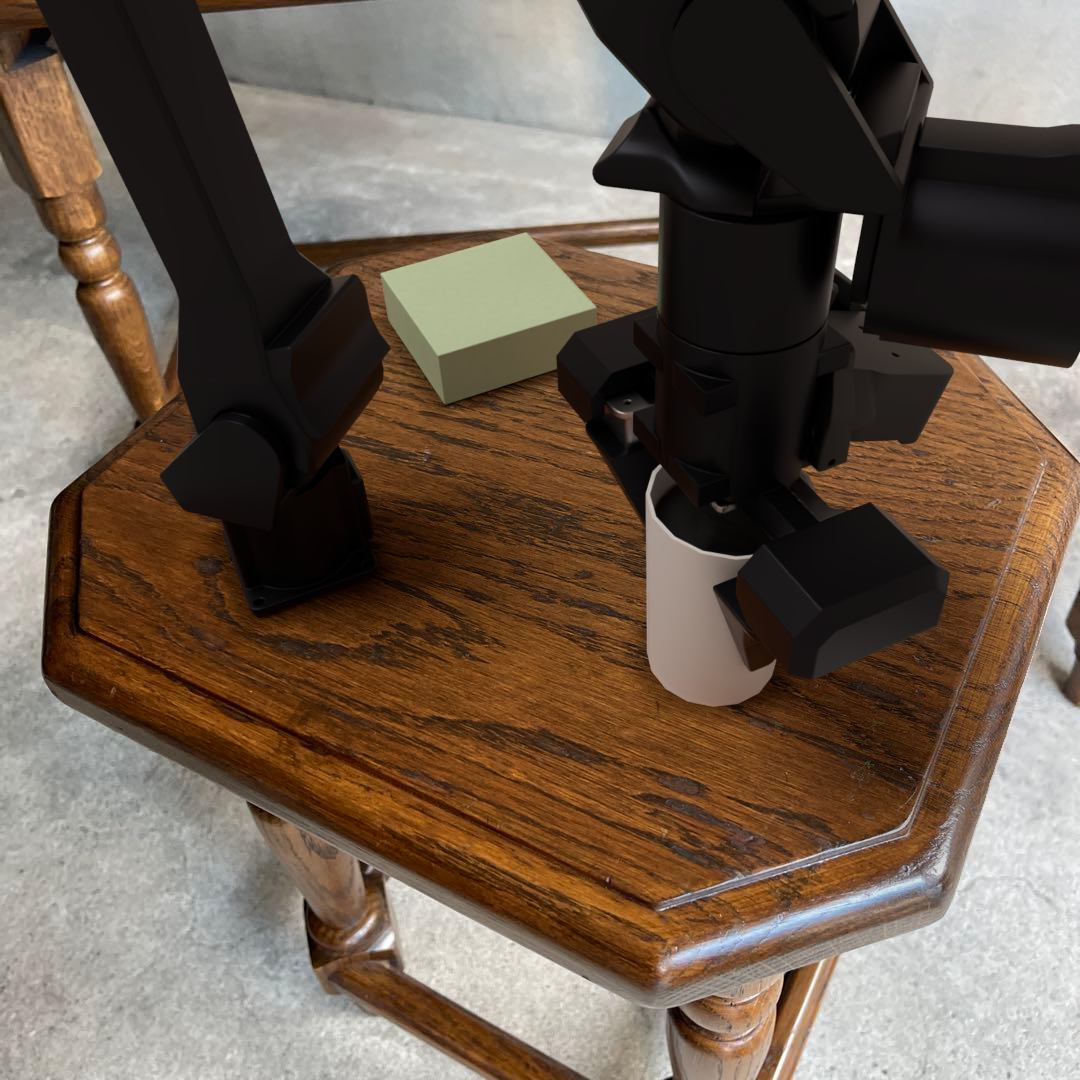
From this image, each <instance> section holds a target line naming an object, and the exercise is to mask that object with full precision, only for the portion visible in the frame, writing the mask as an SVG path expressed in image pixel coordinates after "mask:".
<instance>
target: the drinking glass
mask: <svg viewBox="0 0 1080 1080" xmlns="http://www.w3.org/2000/svg"><path fill="white" fill-rule="evenodd" d="M800 477H801V478H802V479H803V480H804V481H805V482H806V483H807V484H808V485H809V486H810V488H811V489H812V490H813V491H814V492H815V493H816V494H817V495H818V493H817V491H816V488H815V486H814V484H813V481H812V479H811V477H810V475H809V474H808V473H807V472H806V471H804V469H801V472H800ZM767 542H770V540H769V539H768V538H767V537H766V536H765V535H764V534H763V533H762V532H761V530H760V529H759V528H758V527H757V526H756V525H755V524H754V523H753V521H752V520H751V519H750V518H749V517H748V516H747V515H746V514H745V513H744V511H743V510H742V509H741V508H740V507H738V508H737V509H735V510H732V511H729V512H727V513H719V512H717V511H716V510H715V509H714V508H713V507H712V506H711V505H710V504H707V505H705V506H702V507H700V508H697V507H696V506H695V505H694V504H693V502H692V501H691V500H690V499H689V498H688V497H687V495H686V494H685V493H684V492H683V491H682V490H681V488H680V487H679V486H678V485H677V484H676V483H675V481H674V480H673V479H672V478H671V477H670V476H669V474H668V473H667V472H666V471H665V470H664V469H663V467H662V466H661V465H659V466H658V467H657V468H656V469H655V470H654V471H653V472H652V475H651V478H650V481H649V485H648V488H647V491H646V530H645V564H646V565H645V567H646V570H645V571H646V572H645V573H646V575H645V576H646V577H645V579H646V580H645V581H646V592H645V593H646V654H647V658H648V663H649V666H650V671H651V673H652V674H653V675H654V676H655V677H656V679H657V680H658V681H659V683H660V684H661V685H662V686H663V688H664V689H665V690H666V691H668V692H670V693H671V694H673V695H675V696H677V697H678V698H680V699H682V700H684V701H685V702H688V703H692V704H697V705H702V706H706V707H707V706H708V707H711V708H713V707H722V706H732V705H739V704H740V703H743V702H744V701H746V700H748V699H750V698H752V697H754V696H756V695H758V694H760V692H761V691H762V690H763V689H764V688H765V686H766V685H767V683H768V682H769V681H770V679H771V678H772V677H773V674H774V671H775V668H776V667H775V666H776V663H777V660H776V659H775V660H774V661H773V662H772V663H771V664H769V665H768V666H765V667H763V668H761V669H758V670H756V671H753V672H750V671H749V670H748V669H747V667H746V666H745V664H744V662H743V660H742V658H741V656H740V654H739V651H738V649H737V647H736V645H735V642H734V640H733V637H732V635H731V632H730V630H729V627H728V625H727V622H726V620H725V618H724V615H723V613H722V611H721V608H720V606H719V604H718V601H717V599H716V596H715V594H714V591H713V586H714V585H717V584H719V583H722V582H724V581H727V580H729V579H732V578H734V577H737V574H738V571H739V570H740V569H741V568H742V567H743V566H744V564H745V563H746V562H747V561H748V560H749V559H750V558H751V557H752V556H753V554H754V553H755V552H756V551H757V550H758V549H759V548H760V547H761V546H762V545H763V544H765V543H767Z"/></svg>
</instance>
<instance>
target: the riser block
mask: <svg viewBox="0 0 1080 1080" xmlns="http://www.w3.org/2000/svg"><path fill="white" fill-rule="evenodd" d="M380 280H381V285H382V292H383V298H384V303H385V308H386V315H387V320H388V322H389V323H390V325H391V326H392V328H393V330H394V332H396V334H397V335H398V337H399V339H400V340H401V341H402V343H403V344H404V346H405V347H406V349H407V351H408V352H409V353H410V355H411V357H412V359H414V361H415V362H416V363H417V365H418V367H419V369H420V370H421V371H422V373H423V374H424V376H425V377H426V379H427V380H428V382H429V383H430V385H431V387H432V388H433V389H434V390H435V391H434V392H436V393H437V395H438V397H439V398H440V400H441V401H442V402H443V403H442V404H444V405H448V404H452V403H455V402H458V401H461V400H464V399H467V398H471V397H474V396H478V395H480V394H484V393H486V392H489V391H492V390H496V389H499V388H502V387H505V386H508V385H511V384H514V383H517V382H521V381H524V380H527V379H530V378H534V377H536V376H540V375H542V374H546V373H549V372H553V371H555V370H557V362H556V356H557V354H558V353H559V352H560V350H561V349H562V348H563V346H564V345H565V344H566V342H567V341H568V340H569V339H570V337H571V336H572V335H573V333H574V332H576V331H579V330H582V329H585V328H588V327H591V326H595V325H598V308H597V306H596V305H595V304H594V302H593V301H591V300H590V298H588V296H587V295H586V294H585V293H584V292H583V291H582V290H581V289H580V288H579V286H577V284H576V283H575V282H574V281H573V280H572V279H571V278H570V277H569V276H568V275H567V274H566V272H565V271H563V269H562V268H561V267H560V265H558V264H557V263H556V262H555V261H554V260H553V259H552V258H551V256H549V254H547V252H546V251H545V250H544V249H543V248H542V247H541V245H539V244H538V242H536V241H535V239H533V238H532V236H531V235H530V234H529V233H528V232H522V233H518V234H515V235H511V236H507V237H503V238H501V239H497V240H493V241H490V242H486V243H483V244H478V245H476V246H471V247H469V248H465V249H462V250H458V251H454V252H451V253H447V254H443V255H440V256H437V257H433V258H429V259H425V260H422V261H418V262H414V263H411V264H407V265H404V266H400V267H397V268H393V269H390V270H386V271H382V272H380Z"/></svg>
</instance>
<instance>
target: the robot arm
mask: <svg viewBox="0 0 1080 1080" xmlns="http://www.w3.org/2000/svg"><path fill="white" fill-rule="evenodd" d="M34 1H35V3H36V5H37V7H38V9H39V12H40V13H41V15H42V17H43V20H44V21H45V24H46V25H47V27H48V29H49V31H50V34H51V35H52V38H53V40H54V42H55V44H56V46H57V47H58V50H59V52H60V54H61V57H62V58H63V61H64V63H65V64H66V66H67V68H68V71H69V73H70V75H71V77H72V79H73V81H74V83H75V85H76V87H77V89H78V91H79V93H80V95H81V98H82V99H83V102H84V103H85V105H86V107H87V110H88V112H89V114H90V116H91V118H92V120H93V122H94V124H95V126H96V129H97V131H98V132H99V135H100V137H101V138H102V141H103V143H104V145H105V147H106V149H107V151H108V153H109V155H110V157H111V159H112V161H113V163H114V165H115V167H116V169H117V171H118V173H119V175H120V177H121V180H122V183H123V184H124V186H125V188H126V190H127V192H128V194H129V196H130V199H131V200H132V203H133V204H134V206H135V208H136V211H137V212H138V215H139V216H140V219H141V221H142V223H143V225H144V227H145V229H146V231H147V233H148V235H149V237H150V239H151V241H152V243H153V246H154V247H155V250H156V251H157V254H158V256H159V258H160V260H161V262H162V264H163V266H164V268H165V270H166V272H167V275H168V276H169V279H170V281H171V282H172V285H173V287H174V291H175V293H176V296H177V302H178V303H177V304H178V306H177V337H176V338H177V339H176V341H177V343H176V378H177V381H178V384H179V387H180V390H181V392H182V395H183V398H184V401H185V404H186V406H187V409H188V412H189V415H190V418H191V421H192V424H193V426H194V429H195V432H196V433H195V434H194V435H193V436H192V438H191V439H190V440H188V441H187V443H186V444H185V445H184V446H183V447H182V448H181V450H180V451H179V452H178V453H177V454H176V455H175V456H174V457H173V459H172V460H171V461H170V462H169V463H168V464H167V465H166V466H165V468H164V469H163V470H162V471H161V472H160V473H159V479H160V481H161V482H162V483H163V485H164V486H165V488H166V489H167V491H168V492H169V493H170V494H171V496H172V497H173V498H174V500H175V501H176V503H177V504H178V506H179V507H180V508H181V509H182V510H183V511H185V512H186V513H190V514H194V515H199V516H204V517H207V518H212V519H216V520H220V523H221V526H222V528H223V530H222V531H221V535H222V538H223V540H224V543H225V546H226V549H227V551H228V553H229V557H230V559H231V562H232V564H233V567H234V570H235V572H236V575H237V578H238V580H239V583H240V586H241V589H242V591H243V595H244V597H245V599H246V603H247V605H248V607H249V610H250V612H251V613H252V615H254V616H264V615H266V614H270V613H272V612H275V611H277V610H280V609H283V608H285V607H288V606H291V605H294V604H297V603H300V602H303V601H306V600H309V599H311V598H314V597H317V596H319V595H323V594H325V593H327V592H330V591H334V590H337V589H340V588H342V587H345V586H347V585H351V584H353V583H356V582H360V581H363V580H364V579H367V578H369V577H372V576H374V575H376V574H377V573H378V572H379V570H380V569H379V563H378V560H377V558H376V555H375V553H374V552H373V550H372V548H371V545H370V544H369V542H368V541H371V540H373V539H374V537H375V535H376V532H375V527H374V522H373V518H372V514H371V509H370V503H369V501H368V495H367V490H366V486H365V482H364V477H363V476H362V474H361V472H360V470H359V468H358V467H357V465H356V463H355V461H354V459H353V457H352V455H351V453H350V451H349V450H347V449H346V448H344V447H342V448H341V446H340V443H341V442H342V440H343V439H344V437H345V436H346V435H347V434H348V432H349V431H350V429H351V428H352V427H353V425H354V424H355V423H356V422H357V420H358V419H359V417H360V416H361V414H362V413H363V412H364V411H365V410H366V408H367V407H368V405H369V404H370V403H371V402H372V400H373V398H374V397H375V396H376V394H377V393H378V391H379V390H380V387H381V385H382V384H383V382H384V374H385V370H384V369H385V368H384V363H383V360H384V359H385V357H387V356H388V354H389V352H390V351H391V346H390V344H389V343H388V342H387V340H386V339H385V337H383V335H382V334H381V332H380V331H379V329H378V327H377V325H376V322H375V321H374V319H373V316H372V312H371V309H370V302H369V298H368V292H367V288H366V285H365V284H364V282H363V281H362V278H360V276H359V275H358V274H355V273H351V274H346V275H341V276H336V277H332V276H331V275H329V274H328V273H327V272H326V271H324V270H323V269H322V268H321V267H319V266H318V265H317V264H315V263H314V262H312V261H311V260H310V259H309V258H307V256H305V255H304V254H303V253H301V252H300V251H299V250H298V249H297V248H296V246H295V243H293V241H292V239H291V237H290V234H289V232H288V229H287V226H286V224H285V221H284V218H283V216H282V213H281V211H280V209H279V206H278V204H277V202H276V199H275V196H274V193H273V191H272V189H271V186H270V184H269V181H268V178H267V176H266V173H265V171H264V168H263V166H262V164H261V163H262V162H261V161H260V158H259V156H258V153H257V150H256V148H255V145H254V143H253V141H252V138H251V136H250V133H249V131H248V128H247V125H246V123H245V120H244V118H243V116H242V112H241V110H240V108H239V106H238V103H237V100H236V98H235V94H234V92H233V91H232V88H231V85H230V83H229V80H228V78H227V76H226V73H225V70H224V67H223V65H222V62H221V60H220V58H219V55H218V52H217V50H216V47H215V45H214V43H213V40H212V37H211V35H210V32H209V30H208V27H207V24H206V21H205V19H204V17H203V15H202V12H201V10H200V7H199V5H198V2H197V0H34ZM576 2H577V3H578V5H579V8H580V10H581V11H582V13H583V15H584V17H585V18H586V21H587V22H588V24H589V25H590V28H591V30H592V31H593V33H594V34H595V36H596V38H597V39H598V40H599V42H601V44H602V45H603V46H604V47H606V49H607V50H608V51H609V53H611V55H612V56H614V58H616V60H617V61H618V62H619V63H620V65H622V66H623V67H624V69H625V70H626V71H627V72H628V73H629V74H630V75H631V76H632V77H633V78H634V79H635V81H637V83H638V84H639V85H640V86H641V87H642V88H643V89H644V90H645V92H646V93H647V94H648V95H649V98H648V99H647V101H646V103H645V104H644V105H643V107H642V108H641V109H639V110H638V111H637V112H635V113H633V114H632V115H631V116H629V117H627V118H626V119H625V120H624V121H623V122H622V124H621V125H620V127H619V128H618V129H617V131H616V132H615V134H614V136H613V137H612V138H611V140H610V141H609V143H608V144H607V146H606V147H605V149H604V151H603V152H602V153H601V154H600V156H599V158H598V159H597V161H596V162H595V164H594V165H593V167H592V170H591V171H592V172H591V174H592V175H591V176H592V178H593V180H594V181H595V183H596V184H598V185H599V186H601V187H607V188H613V189H614V188H615V189H621V190H622V189H624V190H631V191H639V192H646V193H647V192H648V193H655V194H659V195H658V197H659V198H658V200H659V201H658V207H659V208H658V239H657V240H658V242H657V243H658V245H657V247H658V248H657V288H656V289H657V290H656V291H657V293H656V294H657V296H656V305H655V306H651V307H648V308H645V309H642V310H639V311H636V312H633V313H629V314H626V315H623V316H620V317H617V318H613V319H610V320H607V321H604V322H601V323H597V325H595V326H591V327H588V328H585V329H582V330H579V331H576V332H574V333H573V335H572V336H571V337H570V339H569V340H568V341H567V342H566V344H565V345H564V346H563V348H562V349H561V350H560V352H559V353H558V354H557V356H556V362H557V369H556V376H557V377H556V379H557V380H556V381H557V391H558V392H559V394H560V395H561V396H562V398H564V400H565V401H566V402H567V404H568V405H569V406H570V407H571V409H572V410H573V412H575V414H576V415H577V416H578V417H579V419H580V420H581V421H582V422H583V423H584V424H585V425H584V429H585V432H586V435H587V437H588V438H589V440H591V442H592V443H593V445H594V447H595V449H596V450H597V451H598V454H600V456H601V458H602V460H603V461H604V463H605V465H606V467H607V468H608V470H609V472H610V473H611V475H612V476H613V478H614V479H615V481H616V483H617V485H618V487H619V488H620V489H621V491H622V493H623V495H624V496H625V498H626V500H627V501H628V503H629V505H630V506H631V508H632V509H633V511H634V513H635V515H636V516H637V518H638V519H639V522H640V523H641V525H642V527H643V528H644V530H645V531H646V491H647V488H648V485H649V481H650V478H651V475H652V472H653V471H654V470H655V469H656V468H657V467H658V466H659V465H661V466H662V467H663V469H664V470H665V471H666V472H667V473H668V474H669V476H670V477H671V478H672V479H673V480H674V481H675V483H676V484H677V485H678V486H679V487H680V488H681V490H682V491H683V492H684V493H685V494H686V495H687V497H688V498H689V499H690V500H691V501H692V502H693V504H694V505H695V506H696V507H697V508H700V507H702V506H705V505H707V504H710V505H711V506H712V507H713V508H714V509H715V510H716V511H717V512H719V513H727V512H729V511H732V510H735V509H737V508H738V507H740V508H741V509H742V510H743V511H744V513H745V514H746V515H747V516H748V517H749V518H750V519H751V520H752V521H753V523H754V524H755V525H756V526H757V527H758V528H759V529H760V530H761V532H762V533H763V534H764V535H765V536H766V537H767V538H768V539H769V540H770V542H767V543H765V544H763V545H762V546H761V547H760V548H759V549H758V550H757V551H756V552H755V553H754V554H753V556H752V557H751V558H750V559H749V560H748V561H747V562H746V563H745V564H744V566H743V567H742V568H741V569H740V570H739V571H738V574H737V577H734V578H732V579H729V580H727V581H724V582H722V583H719V584H717V585H714V586H713V591H714V594H715V596H716V599H717V601H718V604H719V606H720V608H721V611H722V613H723V615H724V618H725V620H726V622H727V625H728V627H729V630H730V632H731V635H732V637H733V640H734V642H735V645H736V647H737V649H738V651H739V654H740V656H741V658H742V660H743V662H744V664H745V666H746V667H747V669H748V670H749V671H750V672H753V671H756V670H758V669H761V668H763V667H765V666H768V665H769V664H771V663H772V662H773V661H774V660H775V659H776V662H777V663H778V664H779V666H781V668H782V669H783V670H784V672H785V673H786V674H787V675H788V676H792V677H796V678H801V679H805V680H809V681H814V680H817V679H819V678H822V677H823V676H826V675H828V674H830V673H833V672H835V671H837V670H839V669H842V668H843V667H846V666H849V665H851V664H853V663H855V662H858V661H860V660H862V659H864V658H867V657H869V656H871V655H874V654H876V653H878V652H880V651H882V650H885V649H887V648H889V647H892V646H894V645H896V644H898V643H900V642H904V641H906V640H907V639H910V638H912V637H915V636H917V635H919V634H921V633H923V632H926V631H928V630H930V629H933V628H935V627H937V626H938V624H939V620H940V617H941V615H942V610H943V607H944V604H945V601H946V597H947V593H948V587H949V584H950V583H949V582H950V576H951V572H950V571H949V570H948V569H947V568H946V567H945V566H944V565H943V564H942V563H941V562H940V561H939V560H938V559H936V557H935V556H933V555H932V553H930V552H929V550H927V549H926V547H924V546H923V545H922V544H921V543H920V542H919V541H918V540H917V539H916V538H915V537H914V536H913V535H912V534H911V533H910V532H909V531H908V530H907V529H905V527H904V526H903V525H902V524H900V523H899V522H898V521H897V520H896V518H894V517H893V516H892V515H891V514H890V513H889V512H888V511H886V509H885V510H884V509H883V508H882V507H880V506H878V505H876V504H875V503H873V502H871V501H868V502H866V503H863V504H861V505H859V506H856V507H853V508H850V509H846V508H833V507H831V506H830V505H829V504H828V503H827V502H825V500H823V499H822V498H821V496H820V495H819V494H818V493H817V492H816V493H817V494H816V493H815V492H814V491H813V490H812V489H811V488H810V486H809V485H808V484H807V483H806V482H805V481H804V480H803V479H802V478H801V477H800V472H801V469H802V470H804V469H806V468H809V467H812V468H813V469H815V470H816V472H817V473H822V472H825V471H827V470H830V469H833V468H835V467H838V466H840V465H843V464H846V463H847V461H848V457H849V456H848V455H849V450H850V445H851V442H852V443H866V442H867V443H868V442H892V441H893V442H894V441H897V442H898V443H899V444H900V445H912V444H914V443H917V442H918V440H919V438H920V436H921V435H922V433H923V430H924V429H925V427H926V425H927V424H928V422H929V419H930V418H931V416H932V414H933V412H934V410H935V409H936V407H937V405H938V403H939V401H940V400H941V398H942V396H943V394H944V392H945V390H946V388H947V386H948V385H949V383H950V381H951V379H952V377H953V375H954V374H955V369H954V367H953V365H952V364H951V363H950V362H949V361H948V360H946V359H945V358H944V357H943V356H941V355H940V354H938V352H936V351H935V350H934V349H936V350H942V351H950V352H956V353H961V354H967V355H974V356H975V355H976V356H981V357H988V358H995V359H1001V360H1009V361H1016V362H1021V363H1027V364H1028V363H1029V364H1036V365H1040V366H1048V367H1056V368H1061V369H1070V368H1072V367H1073V365H1074V364H1075V362H1076V361H1077V360H1078V357H1079V355H1080V123H1068V124H1060V125H1053V126H1030V125H1020V124H1010V123H1000V122H999V123H998V122H986V121H976V120H965V119H955V118H945V117H944V118H943V117H934V116H933V117H932V116H927V115H928V111H929V107H930V102H931V99H932V95H933V91H934V87H935V86H934V85H935V84H934V83H935V81H934V78H933V77H932V75H931V74H930V72H929V70H928V68H927V67H926V66H927V65H925V63H924V61H923V59H922V57H921V55H920V54H919V52H918V50H917V48H916V46H915V45H914V43H913V41H912V39H911V37H910V36H909V33H908V32H907V30H906V28H905V26H904V24H903V22H902V20H901V19H900V17H899V15H898V14H897V12H896V10H895V8H894V6H893V4H892V2H891V1H890V0H576ZM844 214H846V215H847V214H848V215H856V216H862V220H861V226H860V233H859V238H858V243H857V249H856V253H855V259H854V266H853V271H852V277H851V279H850V277H848V276H847V275H845V274H844V273H843V272H842V271H840V270H839V269H838V268H836V264H837V258H838V252H839V245H840V238H841V233H842V232H841V231H842V226H843V225H842V224H843V217H844Z"/></svg>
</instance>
